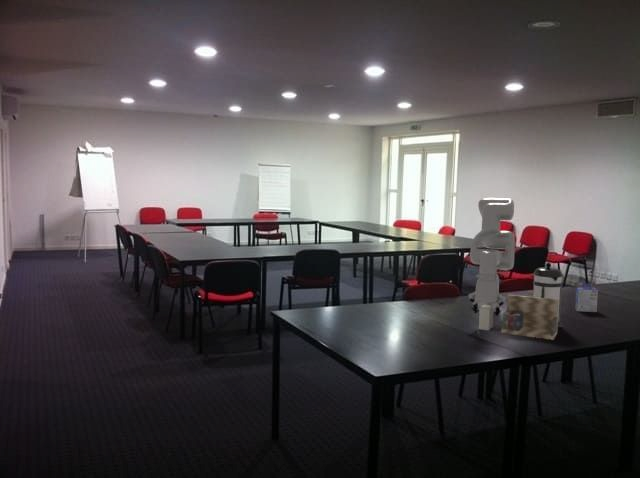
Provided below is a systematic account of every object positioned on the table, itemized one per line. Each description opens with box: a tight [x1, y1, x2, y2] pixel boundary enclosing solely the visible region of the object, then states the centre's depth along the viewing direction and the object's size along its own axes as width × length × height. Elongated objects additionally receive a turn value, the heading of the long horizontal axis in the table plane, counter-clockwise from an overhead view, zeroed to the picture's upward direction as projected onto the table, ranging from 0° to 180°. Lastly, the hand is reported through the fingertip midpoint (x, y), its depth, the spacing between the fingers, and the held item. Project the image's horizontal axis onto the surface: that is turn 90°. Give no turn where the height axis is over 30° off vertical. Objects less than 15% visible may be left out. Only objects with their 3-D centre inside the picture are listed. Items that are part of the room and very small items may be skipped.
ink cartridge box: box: [574, 283, 599, 313], centre depth 288 cm, size 10×6×14 cm, turn 78°
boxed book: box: [478, 305, 494, 331], centre depth 253 cm, size 4×8×10 cm, turn 149°
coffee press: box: [532, 262, 564, 328], centre depth 260 cm, size 17×16×30 cm
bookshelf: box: [500, 294, 559, 341], centre depth 244 cm, size 22×12×16 cm, turn 59°
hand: (486, 313), depth 253 cm, fingers open, 9 cm apart
